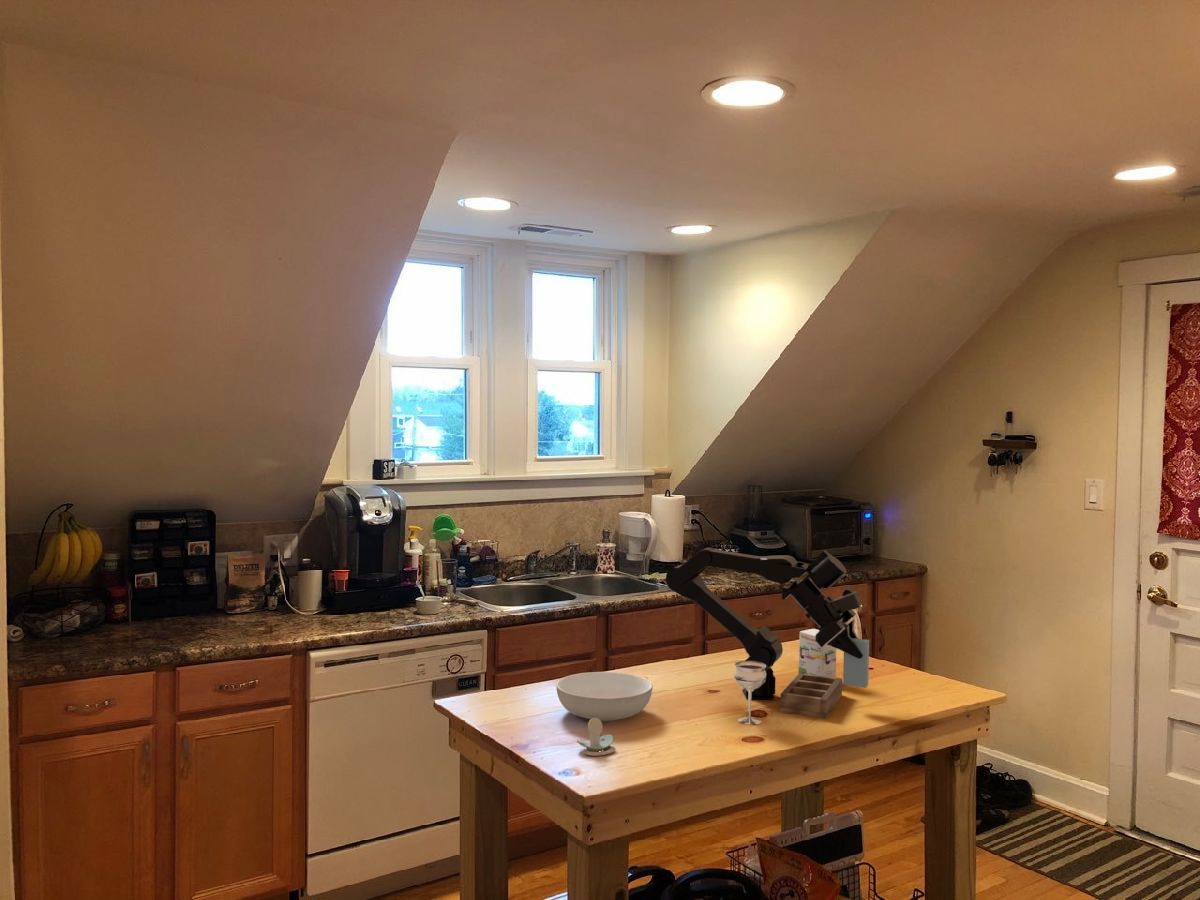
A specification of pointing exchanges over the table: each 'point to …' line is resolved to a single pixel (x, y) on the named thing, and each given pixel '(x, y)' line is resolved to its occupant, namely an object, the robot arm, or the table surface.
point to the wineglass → (750, 683)
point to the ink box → (815, 655)
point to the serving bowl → (604, 694)
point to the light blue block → (857, 666)
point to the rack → (811, 695)
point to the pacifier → (597, 740)
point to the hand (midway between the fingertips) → (862, 655)
